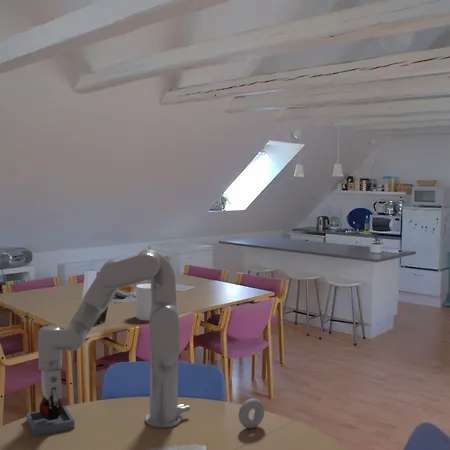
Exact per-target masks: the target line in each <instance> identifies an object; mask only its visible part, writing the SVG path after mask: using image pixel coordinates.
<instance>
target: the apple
mask: <svg viewBox="0 0 450 450" xmlns="http://www.w3.org/2000/svg"><path fill="white" fill-rule="evenodd" d="M51 398H53V397H50V399H51ZM57 398H58V396H57ZM52 402H53V401H51V403H52ZM63 406H64V404H63V402H62V400H61V398H58V407H59V415H60V414H61V412H62V410H63ZM38 408H39V410H38V411H40V414H41V415H42V417H43V418H45V419H47V420H48V408H49V401H48V400H47V399H46V398H43V397H42V399H41V401H40V404H39V407H38Z"/></svg>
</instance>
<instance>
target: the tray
mask: <svg viewBox="0 0 450 450" xmlns="http://www.w3.org/2000/svg"><path fill="white" fill-rule="evenodd" d="M26 422H27V425H28V427H29V430H30V432H31V434H32V437H33V438H35V437H39V436H44V435H47V434H53V433H57V432H62V431H66V430H71V429H75V419H74V417H73V416H72V415H71V412H70V411H69V409H68V408H67V406H66V405H65V406H64V405H63V410H62V412H61V414H60V415H59V418H58V419H54V420H47V419H45V418H43V417H42V415H41V414H40V410H37V411H32V412H26Z"/></svg>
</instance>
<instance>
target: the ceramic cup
mask: <svg viewBox="0 0 450 450" xmlns="http://www.w3.org/2000/svg"><path fill="white" fill-rule="evenodd" d="M108 310H109V306H108V307H107V308H106V310H105V311H104V312H102V313H101V314H100V316H99V317H98V319H97V320H96V322H103V323H105V322H106V320H107V315H108Z"/></svg>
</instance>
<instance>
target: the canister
mask: <svg viewBox="0 0 450 450" xmlns="http://www.w3.org/2000/svg"><path fill="white" fill-rule="evenodd" d="M135 292H136V293H135V294H136V295H135V300H136V301H135V319H137V318H138V319H137V320H139V319H140V320H139V321H150V311H151V283H141V284H137V285H136V287H135Z"/></svg>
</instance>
